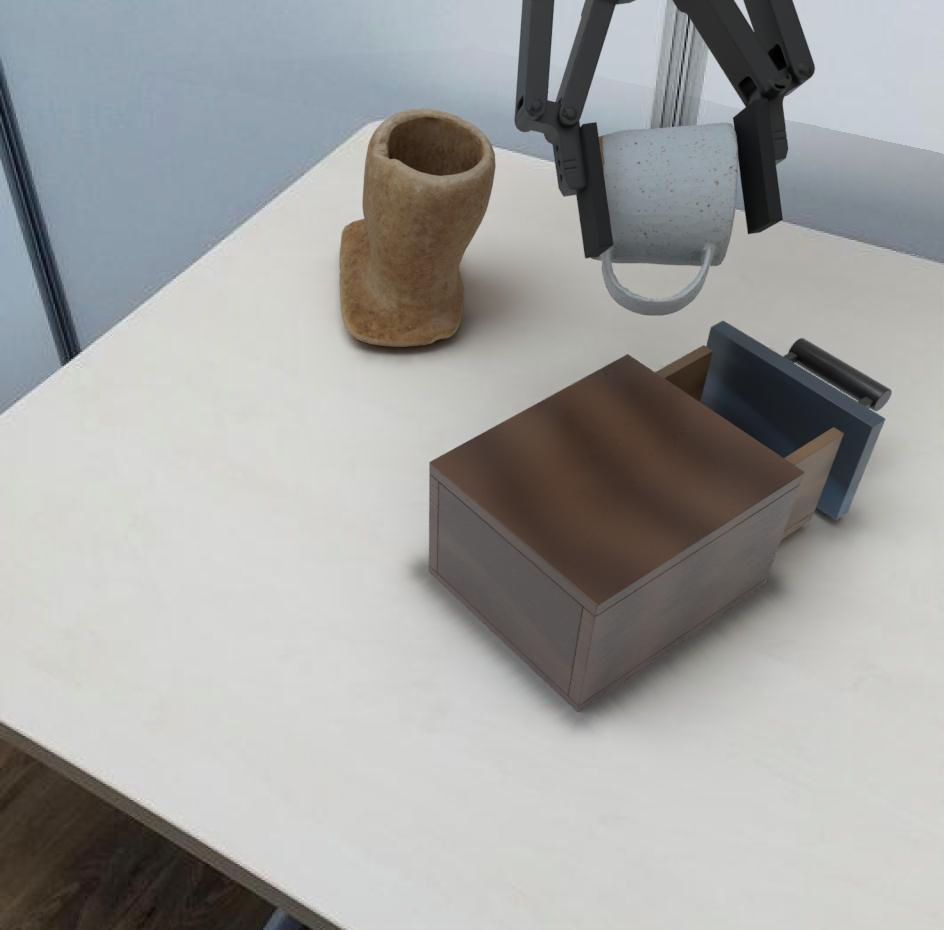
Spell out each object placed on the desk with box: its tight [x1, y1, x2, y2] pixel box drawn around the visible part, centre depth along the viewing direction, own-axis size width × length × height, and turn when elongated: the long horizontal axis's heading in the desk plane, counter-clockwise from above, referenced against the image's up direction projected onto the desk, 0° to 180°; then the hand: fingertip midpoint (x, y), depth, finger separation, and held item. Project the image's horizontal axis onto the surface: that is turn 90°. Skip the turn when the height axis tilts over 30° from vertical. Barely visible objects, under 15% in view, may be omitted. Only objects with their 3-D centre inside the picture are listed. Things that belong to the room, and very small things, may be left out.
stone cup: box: [339, 108, 497, 348], centre depth 86 cm, size 15×12×15 cm
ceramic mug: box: [591, 122, 739, 317], centre depth 64 cm, size 11×8×8 cm
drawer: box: [654, 320, 893, 541], centre depth 72 cm, size 20×13×8 cm, turn 125°
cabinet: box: [428, 353, 805, 713], centre depth 68 cm, size 16×14×10 cm
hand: (682, 239), depth 62 cm, fingers closed on ceramic mug, 9 cm apart
